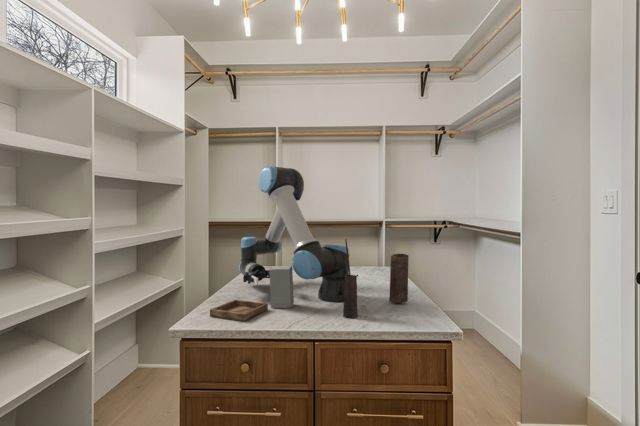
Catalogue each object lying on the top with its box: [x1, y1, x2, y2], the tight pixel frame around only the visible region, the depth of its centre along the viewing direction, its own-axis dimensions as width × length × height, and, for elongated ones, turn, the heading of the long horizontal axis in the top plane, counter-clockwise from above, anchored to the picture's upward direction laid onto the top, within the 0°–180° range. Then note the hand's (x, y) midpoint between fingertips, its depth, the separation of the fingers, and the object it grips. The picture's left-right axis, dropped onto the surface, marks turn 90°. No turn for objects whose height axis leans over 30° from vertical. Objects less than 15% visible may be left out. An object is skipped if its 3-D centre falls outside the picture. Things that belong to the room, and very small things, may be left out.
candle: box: [388, 253, 410, 305], centre depth 143 cm, size 8×7×20 cm
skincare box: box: [268, 265, 295, 309], centre depth 139 cm, size 8×7×16 cm
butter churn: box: [342, 238, 359, 319], centre depth 126 cm, size 9×10×28 cm
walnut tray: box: [209, 299, 269, 323], centre depth 130 cm, size 15×15×2 cm
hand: (272, 279), depth 146 cm, fingers open, 13 cm apart
